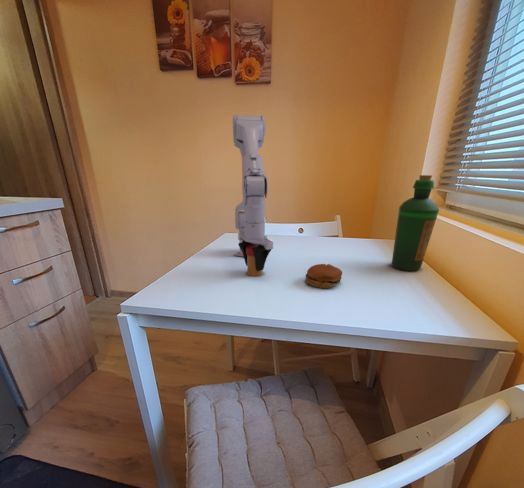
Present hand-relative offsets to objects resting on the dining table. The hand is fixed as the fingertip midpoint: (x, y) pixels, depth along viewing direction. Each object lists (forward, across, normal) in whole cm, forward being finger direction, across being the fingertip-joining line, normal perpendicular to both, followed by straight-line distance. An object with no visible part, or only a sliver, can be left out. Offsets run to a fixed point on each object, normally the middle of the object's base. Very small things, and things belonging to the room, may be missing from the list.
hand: (254, 267), depth 83 cm
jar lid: (-6, 0, 0) cm, 6 cm away
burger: (+2, -17, -12) cm, 20 cm away
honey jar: (+2, 0, 0) cm, 2 cm away
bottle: (+2, -24, -44) cm, 50 cm away
